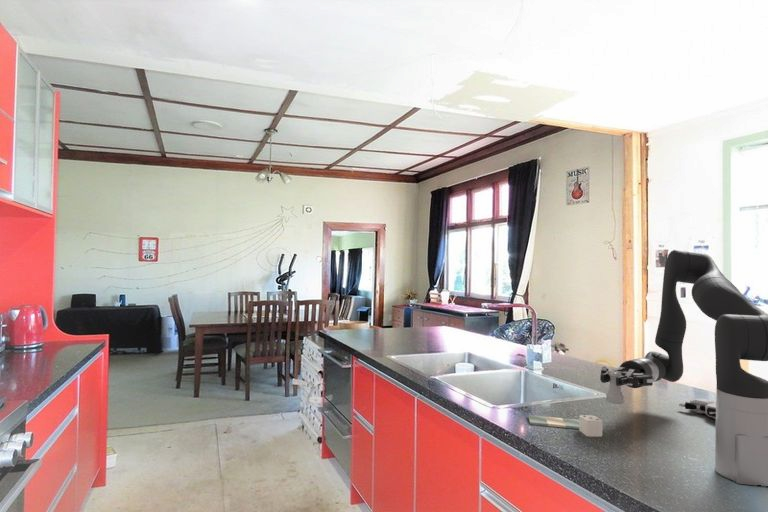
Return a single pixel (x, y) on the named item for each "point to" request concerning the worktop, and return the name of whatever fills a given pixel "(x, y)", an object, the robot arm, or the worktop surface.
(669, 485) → the worktop surface
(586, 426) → the die
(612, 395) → the rook chess piece
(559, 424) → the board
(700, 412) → the robot toy
